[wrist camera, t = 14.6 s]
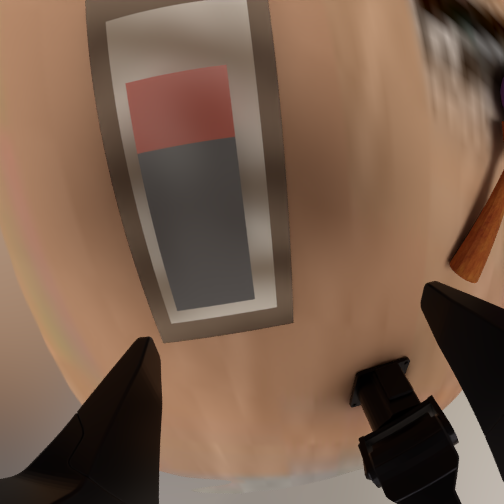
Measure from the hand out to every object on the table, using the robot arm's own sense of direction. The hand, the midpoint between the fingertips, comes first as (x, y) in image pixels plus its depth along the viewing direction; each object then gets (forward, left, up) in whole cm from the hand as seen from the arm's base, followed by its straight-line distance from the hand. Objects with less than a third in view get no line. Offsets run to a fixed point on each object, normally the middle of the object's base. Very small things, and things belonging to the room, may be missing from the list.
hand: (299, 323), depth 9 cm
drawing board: (+2, +3, -12) cm, 12 cm away
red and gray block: (+2, +3, -10) cm, 11 cm away
